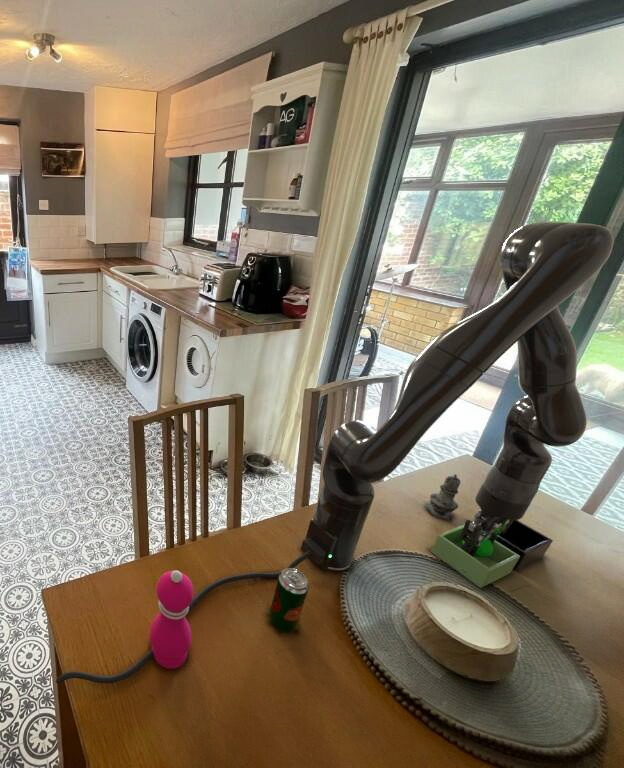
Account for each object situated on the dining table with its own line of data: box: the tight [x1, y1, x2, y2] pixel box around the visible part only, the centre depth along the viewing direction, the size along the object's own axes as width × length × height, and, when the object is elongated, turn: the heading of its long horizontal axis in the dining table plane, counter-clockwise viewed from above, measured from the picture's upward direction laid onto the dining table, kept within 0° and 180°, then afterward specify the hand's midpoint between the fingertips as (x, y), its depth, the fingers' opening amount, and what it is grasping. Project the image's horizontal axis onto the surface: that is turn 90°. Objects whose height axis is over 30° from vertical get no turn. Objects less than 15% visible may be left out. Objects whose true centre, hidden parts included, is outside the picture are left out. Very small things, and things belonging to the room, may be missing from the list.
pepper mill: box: [149, 570, 195, 670], centre depth 69 cm, size 7×7×20 cm
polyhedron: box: [462, 536, 494, 558], centre depth 89 cm, size 5×5×5 cm
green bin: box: [430, 524, 520, 589], centre depth 90 cm, size 10×10×5 cm
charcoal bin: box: [482, 520, 554, 571], centre depth 94 cm, size 10×10×5 cm
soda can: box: [268, 567, 309, 633], centre depth 76 cm, size 5×5×12 cm
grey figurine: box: [426, 474, 462, 520], centre depth 103 cm, size 6×6×12 cm
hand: (474, 551), depth 90 cm, fingers closed on polyhedron, 5 cm apart
